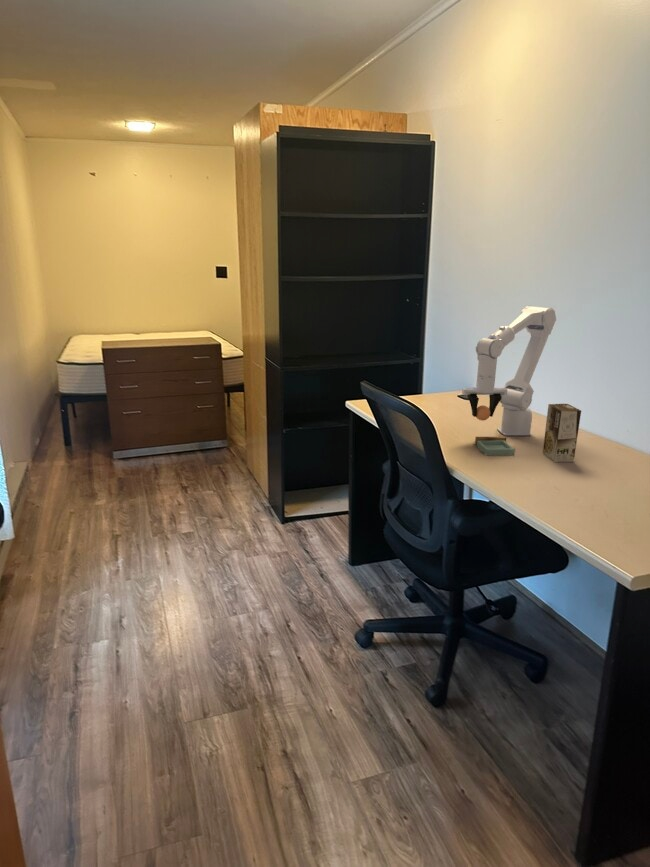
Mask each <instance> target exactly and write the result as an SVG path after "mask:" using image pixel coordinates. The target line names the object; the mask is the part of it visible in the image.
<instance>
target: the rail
mask: <svg viewBox="0 0 650 867" xmlns="http://www.w3.org/2000/svg"><path fill="white" fill-rule="evenodd" d="M507 439H508V438H507V436H475V439H474V445H475V446H477V441H506V442H507Z"/></svg>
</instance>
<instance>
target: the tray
mask: <svg viewBox="0 0 650 867" xmlns="http://www.w3.org/2000/svg"><path fill="white" fill-rule="evenodd" d="M476 447H477V448H478V449H479V450H480V451H482V453H483V454H484V455H485V456H507V455H508V456H509V455H510V456H512V455H513V456H514V455H515V448H514V447H513V446H512V445H510V443H508V442H507V440H506V441H477V445H476Z"/></svg>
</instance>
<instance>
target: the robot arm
mask: <svg viewBox="0 0 650 867" xmlns="http://www.w3.org/2000/svg"><path fill="white" fill-rule="evenodd" d="M556 322H557V316H556V311H555V309H554V308H553V307H541V306H531V305H527V306H525V307H524V308H523V309H521V311H520V315H519V316H517V318H515V319H514V320H513V321H512V322H511V323H510V324H509V325H501V326H499V327H498V329H497V330H495V332H493V333H491V334H490V335H489V336H488V337H483V338H481V339H479V341H477V344H476V346H475V352H476V354H477V361H478V364H477V372H476V373H477V376H476V386H475V387H464V388H462V392H461V395H463V396H467V399H468V401H469V404H470V407H471V414H472V417H474V418H475V417H476V415H477V407H478V404H479V399H480V398H479V397H478V396H480V395H481V396H483V395H485V396H486V395H487V396H488V397H489V406H488V408H489V409H490V417H494V413H495V411H496V408H497V406H498V405H499V403H500V404H501V407H502V408H503V409H502V418H501V426H500V427H497V428H496V430H497V431H498V432H500V433H501V434H502V435H503V436H504V437H507V436H509V437H510V436H532V434H531V429H532V422H533V421H532V420H533V412H532V410H531V408H530V406H531V404H532V401H533V394H534V389H533V387H532V386H531V380H532V377H533V375H534V372H535V370H536V368H537V365H538V363H539V362H540V358H541V356H542V353H543V350H544V348H545V346H546V344H547V342H548V339H549V336H550V335H551V334H552V331H553V330H554V329H553V328H554V326H555V323H556ZM524 329H526V331H527V332H528V333H529V335H530V338H529V341H528V344H527V346H526V348H525V350H524V353H523V356H522V358H521V360H520V363H519V364H518V365H519V366H518V368H517V371H516V372H515V376H514V377H513V378H512V379H511V380H509V381H507V382H506V383H505V385H504V386H503V387H495V384H496V373H497V364H498V357H500V356H501V355H502V354H503V353H502V352H503V350H504V349H505V347H506V346H508V345H510V343H512V342H513V341H514V340H515V338H516V337H515V336H516V334H518V333H520V332H521V331H523V330H524ZM490 417H489V418H490Z"/></svg>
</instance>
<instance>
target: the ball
mask: <svg viewBox="0 0 650 867" xmlns="http://www.w3.org/2000/svg"><path fill="white" fill-rule="evenodd" d="M489 418H490V409H489V406H487V405H483V404H482V405H479V406H477V415H476V419H477V420H479V421H486V420H488V419H489Z"/></svg>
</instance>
